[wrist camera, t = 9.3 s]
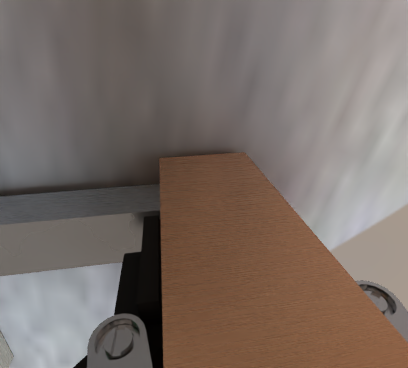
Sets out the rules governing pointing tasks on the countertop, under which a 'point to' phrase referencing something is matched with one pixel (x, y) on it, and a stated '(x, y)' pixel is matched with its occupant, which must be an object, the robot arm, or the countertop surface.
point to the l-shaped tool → (5, 353)
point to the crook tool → (213, 266)
